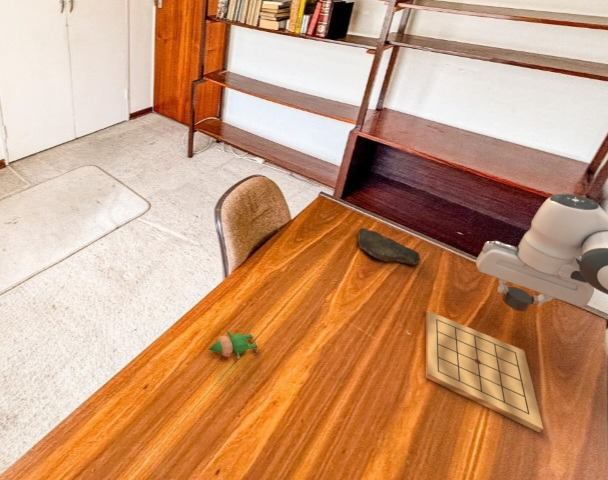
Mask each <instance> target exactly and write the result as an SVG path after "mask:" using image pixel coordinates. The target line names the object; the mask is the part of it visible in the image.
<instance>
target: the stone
mask: <svg viewBox="0 0 608 480" xmlns="http://www.w3.org/2000/svg"><path fill="white" fill-rule="evenodd" d="M357 239H358V246H359V248H360V249H361V250H363V251H364V252H365V254H368V255H369V256H371V257H373V258H375V259H376V260H379V261H381V262H386V263H388V262H398V263H403V264H406V265H409V266H413V265H416V264H418V263H419V261H420V260H421V257H420V253H419V252H418V251H417V250H414V249H412V248H410V247H406V246H405V245H403V244H401V243H399V242H397V241H396V240H394V239H392V238H389V237H386V236H384V235H382V234H381V233H380V232H377V231H374V230H369V229H367V228H363V227H361V228H360V229H359V230H358V232H357Z"/></svg>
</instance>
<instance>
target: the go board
mask: <svg viewBox="0 0 608 480" xmlns="http://www.w3.org/2000/svg"><path fill="white" fill-rule="evenodd" d="M527 360H528V359H527V356H526V352H525V350H524V349H521V348H520V347H517V346H515V345H512V344H510V343H507V342H505V341H502V340H501V339H498V338H495V337H493V336H490V335H488V334H485V333H483V332H481V331H478V330H475V329H474V328H471V327H468V326H466V325H464V324H461V323H459V322H457V321H454V320H452V319H449V318H447V317H444V316H442V315H439V314H437V313H435V312H432V311H430V310H427V311H426V313H425V378H426V379H427V380H430V381H432V382H433V383H436V384H438V385H440V386H442V387H444V388H446V389H448V390H450V391H452V392H454V393H457V394H459V395H461V396H463V397H465V398H467V399H469V400H471V401H473V402H475V403H477V404H479V405H482V406H483V407H485V408H487V409H490V410H492V411H494V412H496V413H498V414H500V415H502V416H504V417H506V418H509V419H511V420H512V421H515V422H516V423H519V424H521V425H522V426H525V427H527V428H529V429H531V430H533V431H535V432H537V433H539V434H540V433H541V432H542V431H543V430H544V427H543V422H542V419H541V414H540V410H539V405H538V401H537V398H536V394H535V393H536V392H535V389H534V385H533V381H532V376H531V373H530V368H529V365H528V361H527Z"/></svg>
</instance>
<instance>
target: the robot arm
mask: <svg viewBox="0 0 608 480" xmlns="http://www.w3.org/2000/svg"><path fill="white" fill-rule="evenodd" d="M475 266H476V268H477V270H478V272H480V273H482V274H485V275H487V276H490V277H494V278H496V279H497V281H498V283H499V284H498V286H497V292H498V293H499V294H502V295H503V294H505V295H506V294H507V293H508V291H509V290H508V287H509V286H508V285H507V283H511V284H513V285H517V286H519V287H522V288H526V289H528V290H531V291H534V292H537V293H539V295H535V294H532V295H531V297H532V299H533V302H532V303H531V305H533V306H535V307H538V308H539V307H541V306H542V304H544V303H546V302H547V303H548V302H550V301H552V300H553V299H557V300H560V301H562V302H565V303H568V304H571V305H573V306H576V307H577V306H578V307H584V306H587V305H588V304H589V303H590V301H591V300H592V298H593V295H594V292H595V289H596V290H597V291H598V292H601V293H603V294H605V295H608V213H607V211H605V210H604V209H603V208H602V207H601V206H600V205H599V203H597V202H596V201H595V200H593V199H591V198H588V197H585V196H583V195H579V194H573V193H557V194H553V195H551V196H549V197H548V198H546V199H545V201H544V202H543V203H542V204H541V206H540V207H539V208H538V210H537V211H536V213H535V214H534V216H533V218H532V220H531V224H530V228H529V230H527V231H526V232H525V233H524V235H523V236H522V238H521V239H520V241H519V243H518V245H517V246H514V245H511V244H508V243H504V242H502V241H499V240H494V241H493V240H491V241H486V242H484V244H483V246H482V248H481V251H480V253H478V256H477V258H476V259H475Z"/></svg>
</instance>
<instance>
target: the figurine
mask: <svg viewBox="0 0 608 480" xmlns="http://www.w3.org/2000/svg"><path fill="white" fill-rule="evenodd" d="M225 332H226V334H227V335H228V336H227V335H221V336H218V338H217V340H216V342H214V343H213V344H212V345H211V346H209V348H208V350H209V351H212V352H213V353H217V354H219V355H222V356H223V357H227V358H229V357H231V355H233V352H234V353H235V354H236V358H237V360H239V359H240V355H242V354H245V352H246V351H247V350H252V349H254V351H255V353H257V352H258V349H259V344H258V342H255V343H253V340H254V334H253V332H250V333H249V334H248V333H247V334H243V333H233V334H232V333H231V332H230V331H229V330H228V329H227V330H226V331H225ZM248 339H249V340H250V343H251V344H249V341H248Z"/></svg>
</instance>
